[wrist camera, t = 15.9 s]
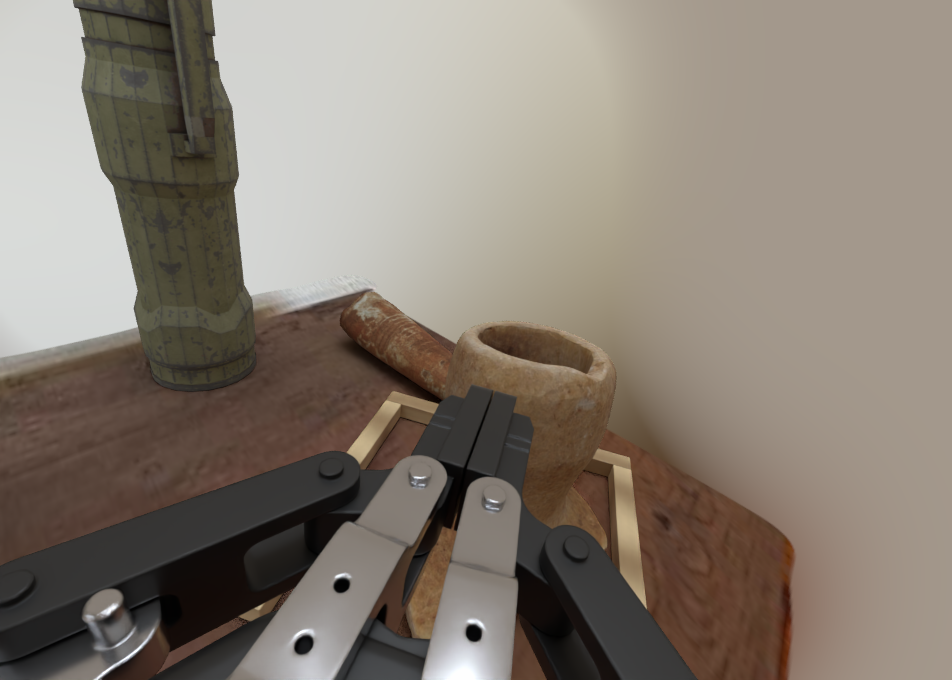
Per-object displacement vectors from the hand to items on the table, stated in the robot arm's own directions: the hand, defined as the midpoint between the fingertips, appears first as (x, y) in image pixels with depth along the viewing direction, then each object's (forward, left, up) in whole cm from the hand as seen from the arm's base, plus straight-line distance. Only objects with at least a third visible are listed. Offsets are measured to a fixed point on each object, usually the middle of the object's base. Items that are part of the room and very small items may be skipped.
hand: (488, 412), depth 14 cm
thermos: (-16, +30, -18) cm, 39 cm away
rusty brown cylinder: (+4, +29, -18) cm, 34 cm away
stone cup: (+5, +8, -18) cm, 20 cm away
